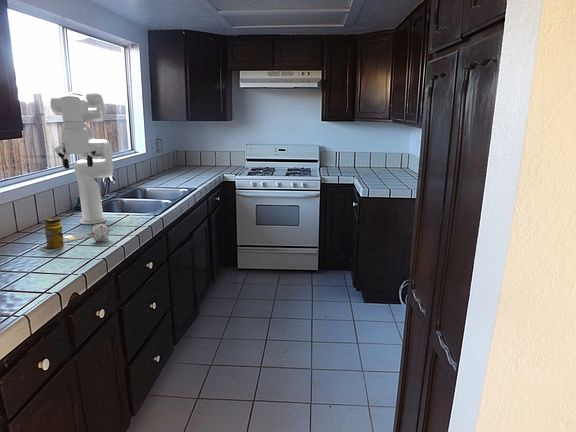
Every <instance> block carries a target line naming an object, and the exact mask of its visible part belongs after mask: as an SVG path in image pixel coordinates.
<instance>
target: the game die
mask: <svg viewBox="0 0 576 432" xmlns="http://www.w3.org/2000/svg"><path fill="white" fill-rule="evenodd" d="M105 223H106V221H104V222H102V223H97V224H91V226H92V227H91V231H90V233H89V234H88V235H89V236H91V237H92V239H93V240H94V241H95V244H97V243H98V242H101V241H106V242H107V241H108V242H109V241H110V240H109V239H108V238H109V236H110V232H111V231H112V229H109V228H108V226H107V225H105Z"/></svg>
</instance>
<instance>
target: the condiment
mask: <svg viewBox="0 0 576 432" xmlns="http://www.w3.org/2000/svg"><path fill="white" fill-rule="evenodd" d="M44 222H45V223H44V224H45V226H44V230H45V231H44V233H45V239H46V245H43V246H39V247H38V249H39V250H41V251H44V252H48V253H50V252H52V251H56V250H60V249H64V248H67V247H68V245H66V244H65V243H63V236H64V235H63V226H62V224H61V219H60V218H59V217H48V218H46V219H45V221H44Z"/></svg>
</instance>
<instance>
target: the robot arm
mask: <svg viewBox="0 0 576 432" xmlns="http://www.w3.org/2000/svg"><path fill="white" fill-rule="evenodd" d="M49 106H50V108H51V111H52V113H54V114H55V115H61V116H62V117H61V118H62V125H63V129H61V133H60V134H61V136H60V142H61V144H60V145H57V146H56V147H55V148H53V150H54V152H55V153H56V155H57V156H58V157H59V158H60V159H61V160H62V166H63V168H64V169H67V170H69V169H70V161H69V159H68V157H69V156H70V155H77V156H78V157H79V158H80V159H78V160H76V161H74V164H73V169H74V174H75V176H76V180H77V185H78V186H77V187H78V192H79V193H78V194H79V200H80V201H79V202H80V208H81V216H82V217H81V219H79V224H82V225H92V224H93V225H97V224H102V223H104V222H106V221H107V220H108V218H107V217H106V216H104V213H103V212H104V210H103V205H102V194H101V187H100V185H99V183H98V182H96V180H95V179H101V178H110V177H111V176H113V173H114V164H113V163H114V162H113V152H112V150H113V149H112V147H111V143H110V142H109V140H107V139H104V138H103V139H102V138H101V139H99V138H98V139H95V132H94V130H93V129H92V128H91V127H90V126H89V125H87V123H100V122H104V121H105V120H106V117H107V113H106V108H105V102H104V99H103V96H102V94H101V92H100V91H98V90H96V89H75V90H73V91H72V92H65V93H59V94H54V95H52V97H51V99H50V105H49Z"/></svg>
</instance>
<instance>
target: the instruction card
mask: <svg viewBox="0 0 576 432" xmlns="http://www.w3.org/2000/svg"><path fill="white" fill-rule="evenodd" d="M91 237H92V236H91V235H90V236H89V234H86V233H84V232H83V231H82V232H77V233H76V232H75V233H71V234H66V235H63V243H64V244H66V243H70V242H74V241H79V240H82V239H88V238H91Z"/></svg>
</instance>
